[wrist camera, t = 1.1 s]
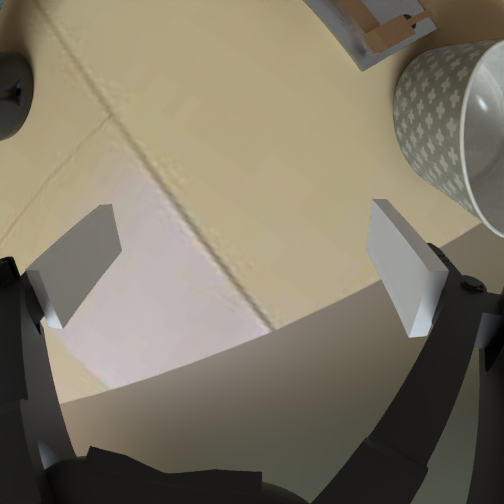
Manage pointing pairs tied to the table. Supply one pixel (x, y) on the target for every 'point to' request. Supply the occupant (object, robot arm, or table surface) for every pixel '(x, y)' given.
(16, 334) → the robot arm
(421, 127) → the planter
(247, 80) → the table surface
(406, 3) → the gauge board
